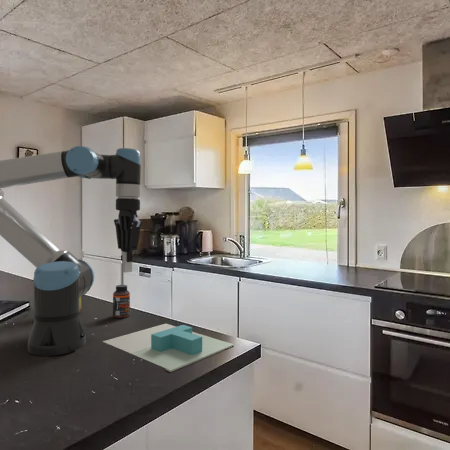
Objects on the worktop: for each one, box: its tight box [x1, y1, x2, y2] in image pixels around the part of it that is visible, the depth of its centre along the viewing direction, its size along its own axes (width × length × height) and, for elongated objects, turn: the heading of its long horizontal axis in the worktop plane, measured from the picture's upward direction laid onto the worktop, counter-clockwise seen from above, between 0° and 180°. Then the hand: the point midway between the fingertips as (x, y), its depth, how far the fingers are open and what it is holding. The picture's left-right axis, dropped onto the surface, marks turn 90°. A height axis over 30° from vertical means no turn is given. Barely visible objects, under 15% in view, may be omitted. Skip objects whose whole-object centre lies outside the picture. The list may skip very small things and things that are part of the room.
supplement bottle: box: [112, 284, 131, 319], centre depth 140 cm, size 6×6×11 cm
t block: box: [151, 324, 202, 355], centre depth 108 cm, size 12×12×4 cm
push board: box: [102, 323, 235, 373], centre depth 112 cm, size 24×30×1 cm
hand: (127, 271), depth 123 cm, fingers closed
